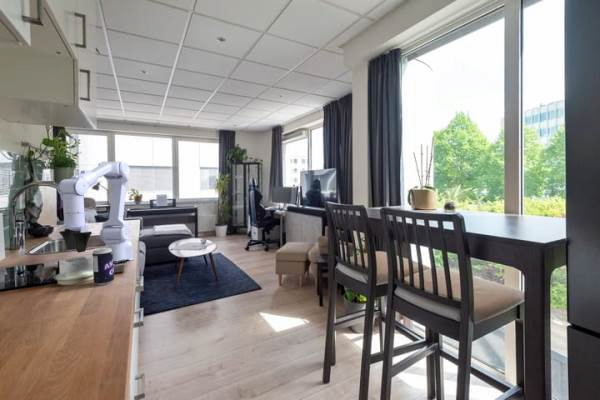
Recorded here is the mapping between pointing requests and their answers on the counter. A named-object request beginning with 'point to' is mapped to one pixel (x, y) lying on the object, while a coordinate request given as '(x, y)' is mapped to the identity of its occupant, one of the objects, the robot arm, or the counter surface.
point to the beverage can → (103, 265)
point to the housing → (75, 266)
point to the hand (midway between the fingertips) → (76, 250)
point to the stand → (75, 279)
